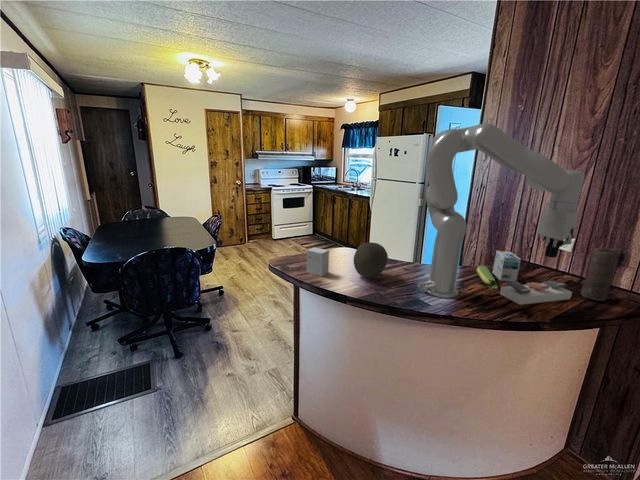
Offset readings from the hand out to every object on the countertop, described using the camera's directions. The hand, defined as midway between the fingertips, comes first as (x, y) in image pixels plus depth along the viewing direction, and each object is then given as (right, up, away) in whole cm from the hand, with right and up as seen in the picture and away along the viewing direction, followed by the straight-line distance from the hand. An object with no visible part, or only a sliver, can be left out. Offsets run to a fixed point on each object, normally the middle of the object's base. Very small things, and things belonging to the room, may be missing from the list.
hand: (550, 256), depth 112 cm
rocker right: (+7, -11, +8) cm, 15 cm away
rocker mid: (-1, -12, +5) cm, 13 cm away
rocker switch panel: (-1, -16, +7) cm, 17 cm away
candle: (+21, -17, +6) cm, 27 cm away
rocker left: (-9, -12, +3) cm, 15 cm away
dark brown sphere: (-63, -10, +21) cm, 67 cm away
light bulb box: (-2, -11, +25) cm, 28 cm away
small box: (-85, -9, +23) cm, 89 cm away
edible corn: (-13, -12, +20) cm, 27 cm away
